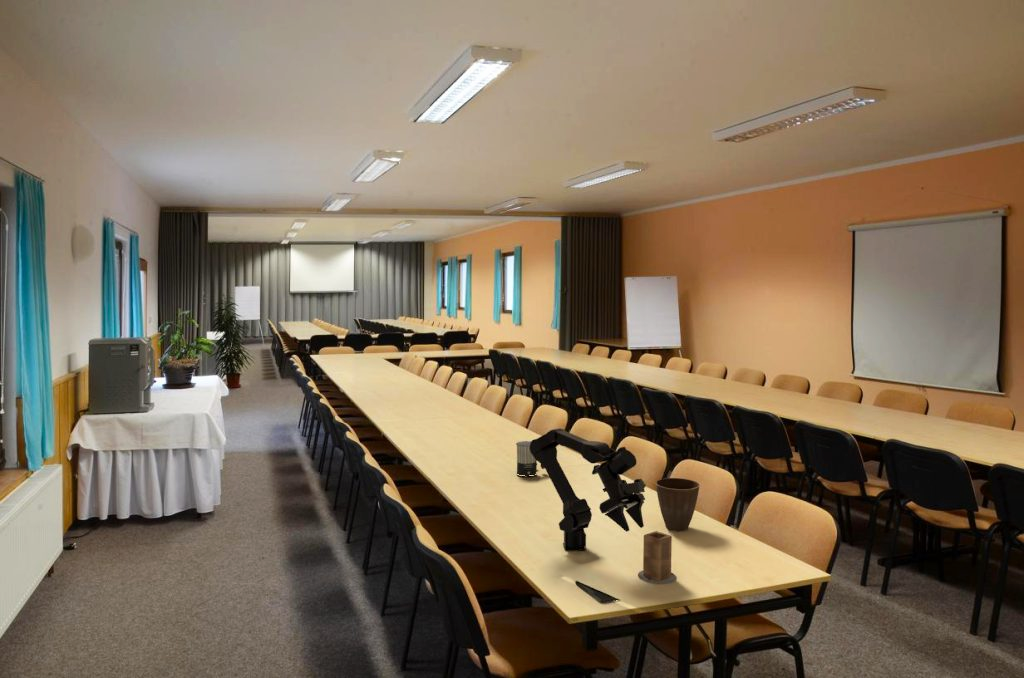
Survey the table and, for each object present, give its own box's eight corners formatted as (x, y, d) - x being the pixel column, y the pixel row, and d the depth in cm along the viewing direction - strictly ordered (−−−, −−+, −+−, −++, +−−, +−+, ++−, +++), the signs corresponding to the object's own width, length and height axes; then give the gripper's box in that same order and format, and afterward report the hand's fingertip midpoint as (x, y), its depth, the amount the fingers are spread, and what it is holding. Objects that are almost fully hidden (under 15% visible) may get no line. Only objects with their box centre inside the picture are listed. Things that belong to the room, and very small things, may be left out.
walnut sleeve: (643, 575, 206) (643, 535, 205) (655, 571, 210) (656, 530, 209) (658, 581, 202) (659, 540, 201) (671, 576, 205) (671, 535, 205)
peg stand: (629, 578, 207) (629, 565, 206) (654, 569, 214) (654, 556, 213) (660, 590, 198) (660, 576, 198) (684, 580, 205) (684, 567, 205)
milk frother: (522, 478, 319) (522, 445, 318) (505, 471, 333) (505, 439, 332) (549, 474, 326) (549, 442, 325) (531, 467, 340) (531, 436, 339)
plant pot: (697, 537, 242) (698, 490, 241) (653, 532, 246) (653, 487, 245) (699, 523, 256) (700, 479, 255) (657, 519, 261) (657, 476, 260)
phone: (597, 576, 207) (626, 596, 193) (597, 580, 207) (626, 600, 193) (573, 580, 203) (600, 601, 190) (573, 584, 204) (600, 605, 190)
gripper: (617, 470, 207) (642, 521, 201) (646, 467, 222) (670, 514, 216) (588, 488, 213) (612, 537, 207) (618, 483, 227) (641, 529, 221)
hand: (635, 529), depth 213 cm, fingers open, 9 cm apart
